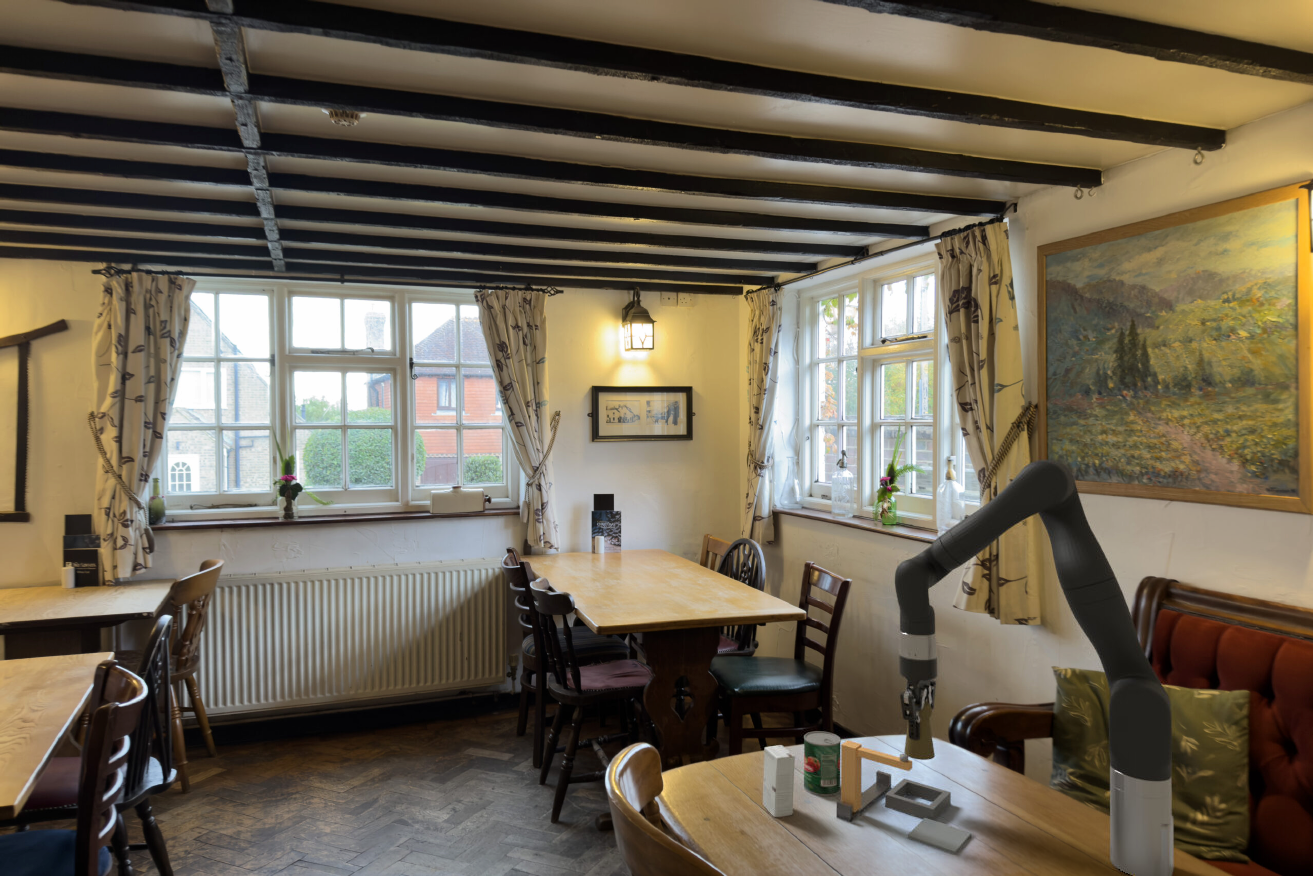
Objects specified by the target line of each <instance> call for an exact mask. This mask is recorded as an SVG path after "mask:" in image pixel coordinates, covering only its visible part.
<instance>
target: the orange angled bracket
mask: <svg viewBox="0 0 1313 876" xmlns="http://www.w3.org/2000/svg"><path fill="white" fill-rule="evenodd" d="M840 747H841V749H840V752H841V753H840V759H841V760H840V801H841V802H844V803H847V804H850V805H853V812H856V811H857V810H859V809H860V808H861V794H862V759H865V760H869V761H872V762H876V763H879V764H882V765H886V766H890V767H893V768H897V769H899V770H903V771H907V772H910V771H911V770H913V760H910V759H909V757H908V755H906V754H905V753H900V754H899V756H896V755H892V754H889V753H886V752H885V753H884V752H881V751H878V750H874V749H870V748H867V747H863V746H862V744H861V743H859V742H855V741H852V740H846V741H845V742H843V743H842V744H840Z"/></svg>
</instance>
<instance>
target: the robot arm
mask: <svg viewBox="0 0 1313 876" xmlns="http://www.w3.org/2000/svg"><path fill="white" fill-rule="evenodd" d="M1078 491H1079V490H1078V487H1077V484H1076V480H1075V477H1074V474H1073V473H1072V471H1071V470H1070V469H1069V468H1068V467H1067V466H1066V465H1065V464H1063V463H1062V462H1060V461H1057V460H1054V459H1040V460H1039V459H1038V460H1035V461H1033V462H1030V463H1028V464H1027V465H1025V466H1024V467H1023V468H1022V470H1020V471H1019V473H1018V474H1017V475H1016V476H1015V477H1014V478H1013V479H1012V480H1011V481H1010V482H1009V483H1008V485H1006V486H1005V488H1003V489H1002V490H1001V491H1000V492H999V493H998V494H997V495H996V496H994V498H992V499H991V500H990V501H988V502H987V503H986V504H984V505H983V506H982V507H980V508H978V509H977V510H976V511H974V512H973V513H972V514H970V515H969V516H967V517H965V518H964V519H962V520H961V521H959V522H958V523H956V524H955V525H953V526H952V527H951V528H949V529H948V530H947V531H945V532H944V533H942V534H941V535H940V536H938V537H937V538H936V539H935V540H934V541H933V542H932V543H931V545H930V546H929V547H927V548H926V549H924V550H923V551H921V552H920V553H918V554H917V555H915V556H914V557H912V558H909V559H906V560H903V561H902V562H900V563H899V564H898V565H897V568H896V569H895V574H894V589H895V593H896V599H897V604H898V607H899V638H898V652H899V653H898V658H899V659H898V660H899V661H898V662H899V663H898V665H899V666H898V667H899V671H898V672H899V675H900V676H901V677H903V678H905V679H906V681H907V682H906V685H905V692H900V694H899V697H900V706H901V712H902V718H903V720H905V721H907V726H908V732H909V738H910V739H913V740H919V739H920V711H923V710H924V702H925V701H926V702H928V703H929V704H930V705H931V708H932V711H933V710H935V697H936V685H937V682H936V680H935V679H937V677H938V645H937V643H938V641H937V638H936V615H935V614H936V613H935V609H934V607H933V606H932V605H930V604H931V603H930V594H929V589H930V588H932V587H933V586H935V585H937V584H938V583H939V582H941V581H942V580H943V579H945V577H946V576H948V575H949V574H950V573H951V572H953V570H955V569H958V568H960V567H961V566H963V565H964V564H966V563H967V562H969V561H970V560H971V559H973V558H975V557H976V556H978V555H979V554H981V552H983V551H984V550H985V549H987V548H988V547H989V546H990V545H992V544H993V543H994V542H995V541H996V540H997V539H998V538H1000V537H1001V536H1002V535H1003V534H1005V532H1007V531H1009V530H1010V529H1011V528H1013V527H1014V526H1017V525H1018V524H1019V523H1021V522H1023V521H1024V520H1027V519H1028V518H1030V517H1032V516H1034V515H1036V514H1038V515H1039V517H1040V519H1041V521H1042V523H1043V525H1044V527H1045V530H1046V532H1047V534H1048V537H1049V541H1050V546H1051V549H1052V550H1051V552H1052V555H1053V556H1052V557H1053V562H1054V566H1055V570H1056V575H1057V578H1058V582H1059V584H1060V587H1061V589H1062V592H1063V595H1064V596H1065V599H1066V602H1067V604H1068V606H1069V608H1070V611H1071V613H1072V615H1073V617H1074V619H1075V620H1076V622H1077V624H1078V625H1079V627H1080V629H1081V630H1082V631H1083V633H1084V635H1085V637H1087V639H1088V641H1089V642H1090V643H1091V644H1092V646H1093V648H1094V650H1095V651H1096V653H1097V656H1098V657H1099V661H1100V663H1101V666H1102V668H1103V671H1104V674H1105V678H1106V679H1107V685H1108V688H1109V693H1110V698H1109V703H1108V732H1109V733H1108V743H1109V744H1108V746H1109V747H1108V748H1109V760H1110V761H1109V777H1110V778H1109V791H1110V793H1109V795H1110V796H1109V797H1110V798H1109V802H1110V803H1109V807H1110V809H1109V811H1110V813H1109V825H1110V826H1109V827H1110V828H1109V829H1110V830H1109V833H1110V834H1109V835H1110V836H1109V838H1110V839H1109V840H1110V841H1109V843H1110V844H1109V852H1110V853H1109V857H1110V859H1109V860H1110V862H1111V864H1112V865H1113V867H1115V868H1116V869H1118V870H1119V869H1120V870H1119V871H1120V872H1122V871H1123V872H1122V873H1124V872H1125V874H1126V873H1128V874H1132V875H1135V876H1173V873H1174V862H1175V861H1174V816H1173V814H1172V768H1173V767H1172V764H1173V761H1172V760H1173V757H1172V756H1173V755H1172V747H1173V746H1172V745H1173V744H1172V735H1173V733H1172V731H1173V729H1172V727H1173V726H1172V721H1173V718H1172V704H1171V703H1172V702H1171V700H1170V697H1169V694H1168V692H1167V691H1166V689H1165V687H1164V686H1163V684H1162V682H1161V680H1160V679H1159V677H1158V675H1157V674H1156V672H1155V670H1154V669H1153V667H1152V664H1151V663H1150V661H1149V659H1148V657H1147V655H1146V654H1145V652H1144V649H1143V648H1142V647H1143V646H1142V645H1141V642H1140V640H1139V637H1138V635H1137V631H1136V626H1135V623H1134V621H1133V618H1132V614H1131V612H1130V609H1129V606H1128V604H1127V601H1126V598H1125V595H1124V593H1123V591H1122V588H1121V586H1120V583H1119V581H1118V579H1117V577H1116V575H1115V573H1114V569H1113V568H1112V567H1111V564H1110V562H1109V561H1108V558H1107V555H1105V552H1104V551H1103V548H1102V546H1101V544H1100V542H1099V541H1098V538H1097V537H1096V536H1095V534H1094V532H1093V530H1092V528H1091V526H1090V524H1089V521H1088V518H1087V517H1086V514H1085V510H1084V507H1083V504H1082V501H1081V498H1080V496H1079V492H1078ZM915 704H919V706H915ZM916 711H917V712H916ZM911 713H912V715H911ZM1128 874H1127V875H1128Z"/></svg>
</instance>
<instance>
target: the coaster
mask: <svg viewBox="0 0 1313 876" xmlns="http://www.w3.org/2000/svg"><path fill="white" fill-rule="evenodd" d="M971 837H972V832H970V831H967V830H964V829H961V828H958V827H955V826H952V825H949V824H946V823H943V822H940V821H937V820H935V821H934V820H931V819H928V818H924V819H922V820H920V822H919V823H917V824H916V825H915V827H914V828H913V829H912V830H911V831H910V832H909V833H907V839H909V840H912V841H914V842H917V843H919V844H923V845H926V846H929V847H931V848H935V849H937V850H940V851H943V852H945V853H949V854H951V855H954V856H956V855H957V854H958V853H959V851H960V850H961V849H962V848H963V847H964V845H965V844H966V843H967V841H968V840H969V839H970V838H971Z"/></svg>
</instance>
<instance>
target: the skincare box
mask: <svg viewBox="0 0 1313 876" xmlns="http://www.w3.org/2000/svg"><path fill="white" fill-rule="evenodd" d="M763 755H764V756H763V758H764V759H763V783H762V785H763V786H762V804H763V806H764V808H765V809H766V810H767V811H768V813H770V814H771V815H772V816H773V818H774V817H775V818H781V817H782V818H783V817H787V816H792V815H793V813H794V811H793V810H794V790H795V789H794V786H795V785H794V784H795V782H794V781H795V762H796V761H795V758H796V757H795V755H794V754H792V753H791V751H790V750H788V748H786V747H785V746H784V745H782V744H779V745H773V746H765V747H764V753H763Z"/></svg>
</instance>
